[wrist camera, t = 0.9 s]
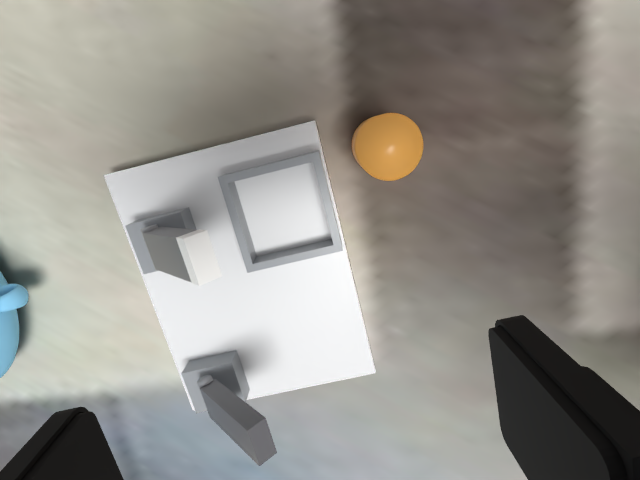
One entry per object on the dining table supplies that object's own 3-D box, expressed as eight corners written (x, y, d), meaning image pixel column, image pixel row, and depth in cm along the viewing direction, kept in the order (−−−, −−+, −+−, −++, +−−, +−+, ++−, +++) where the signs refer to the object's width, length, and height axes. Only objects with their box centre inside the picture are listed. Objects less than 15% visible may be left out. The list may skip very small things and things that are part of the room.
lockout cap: (400, 109, 32) (416, 105, 26) (410, 164, 33) (428, 172, 28) (346, 123, 33) (350, 122, 27) (358, 177, 34) (364, 187, 28)
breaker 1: (155, 223, 31) (206, 227, 23) (170, 263, 31) (223, 278, 24) (136, 230, 30) (182, 235, 22) (151, 270, 31) (200, 288, 23)
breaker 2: (209, 372, 34) (264, 415, 27) (220, 404, 35) (277, 454, 28) (193, 381, 33) (246, 428, 26) (205, 414, 34) (260, 468, 27)
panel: (315, 120, 32) (313, 119, 29) (373, 360, 38) (378, 386, 34) (116, 172, 34) (88, 178, 30) (199, 397, 39) (185, 426, 35)
